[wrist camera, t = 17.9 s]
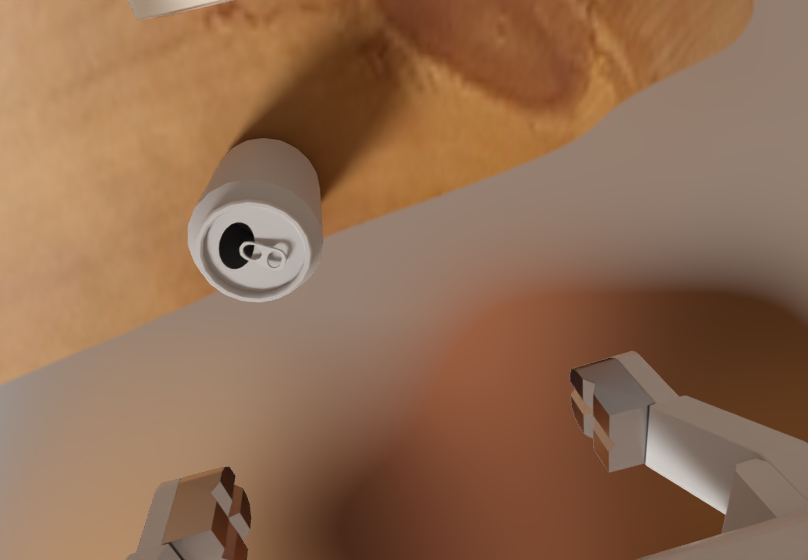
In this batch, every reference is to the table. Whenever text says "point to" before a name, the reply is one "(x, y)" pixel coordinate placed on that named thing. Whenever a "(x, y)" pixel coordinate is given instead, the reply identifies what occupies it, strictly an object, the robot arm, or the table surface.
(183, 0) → the pocket block
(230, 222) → the can
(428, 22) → the table surface
